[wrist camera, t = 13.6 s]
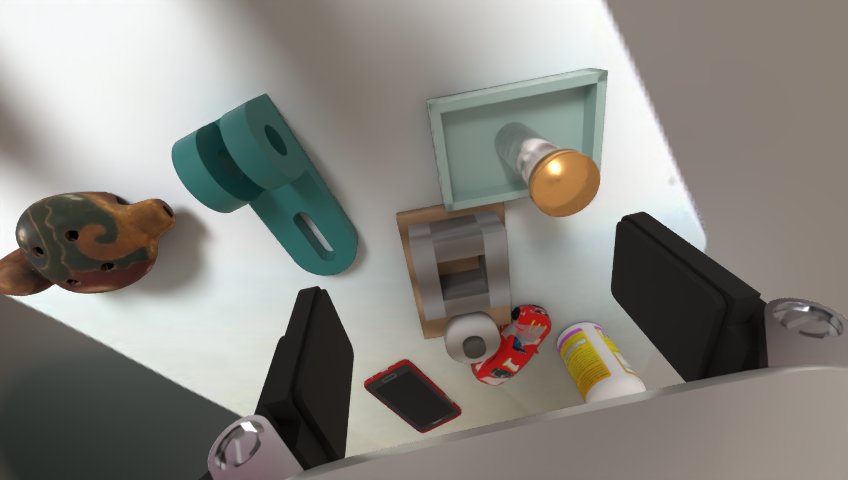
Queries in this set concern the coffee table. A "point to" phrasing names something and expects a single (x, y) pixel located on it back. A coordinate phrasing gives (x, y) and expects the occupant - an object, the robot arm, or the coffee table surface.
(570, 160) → the pin
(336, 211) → the bracket
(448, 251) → the square socket fixture board
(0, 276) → the green brown ocarina
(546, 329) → the race car
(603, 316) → the coffee table surface
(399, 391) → the cell phone
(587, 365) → the supplement bottle
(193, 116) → the coffee table surface
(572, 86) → the tray
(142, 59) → the coffee table surface
